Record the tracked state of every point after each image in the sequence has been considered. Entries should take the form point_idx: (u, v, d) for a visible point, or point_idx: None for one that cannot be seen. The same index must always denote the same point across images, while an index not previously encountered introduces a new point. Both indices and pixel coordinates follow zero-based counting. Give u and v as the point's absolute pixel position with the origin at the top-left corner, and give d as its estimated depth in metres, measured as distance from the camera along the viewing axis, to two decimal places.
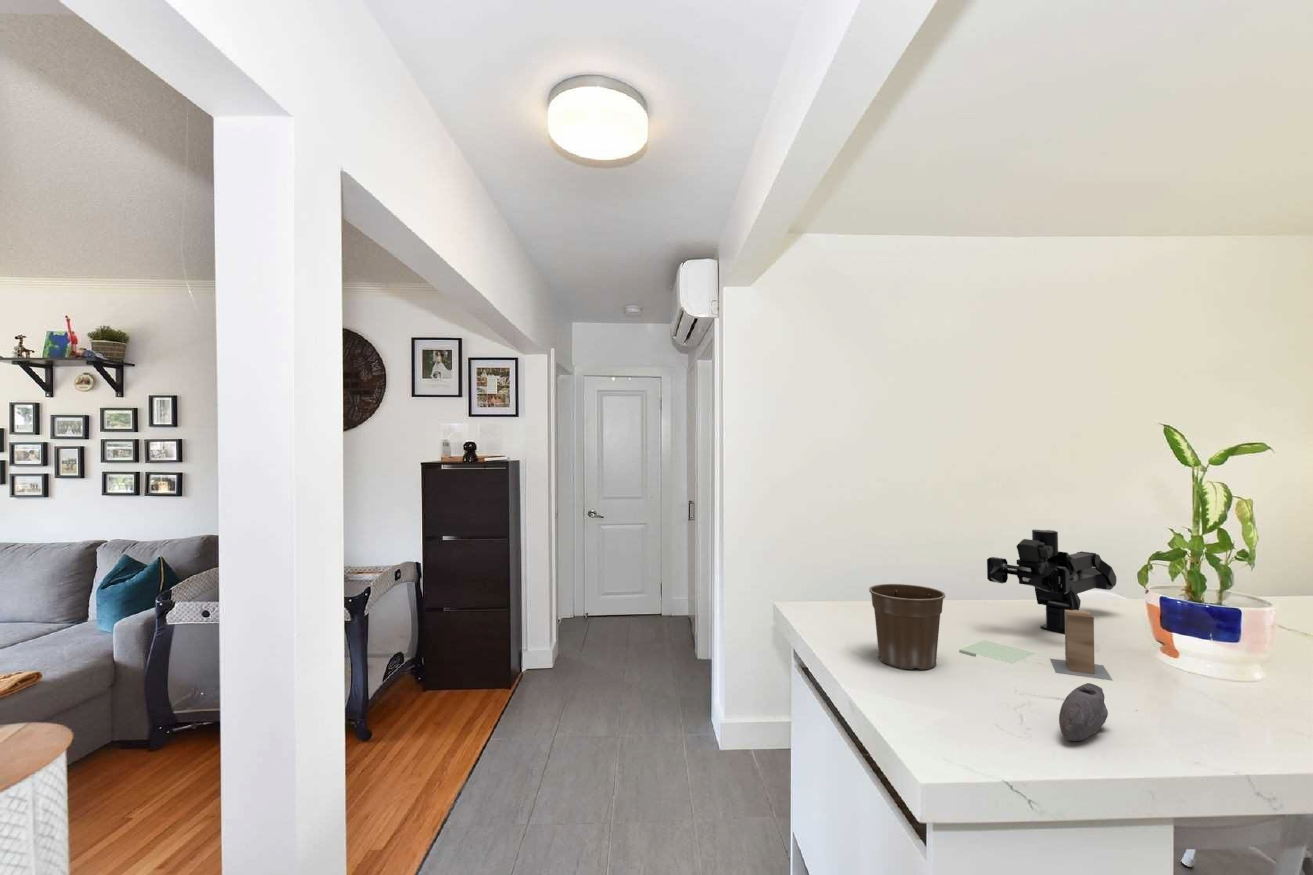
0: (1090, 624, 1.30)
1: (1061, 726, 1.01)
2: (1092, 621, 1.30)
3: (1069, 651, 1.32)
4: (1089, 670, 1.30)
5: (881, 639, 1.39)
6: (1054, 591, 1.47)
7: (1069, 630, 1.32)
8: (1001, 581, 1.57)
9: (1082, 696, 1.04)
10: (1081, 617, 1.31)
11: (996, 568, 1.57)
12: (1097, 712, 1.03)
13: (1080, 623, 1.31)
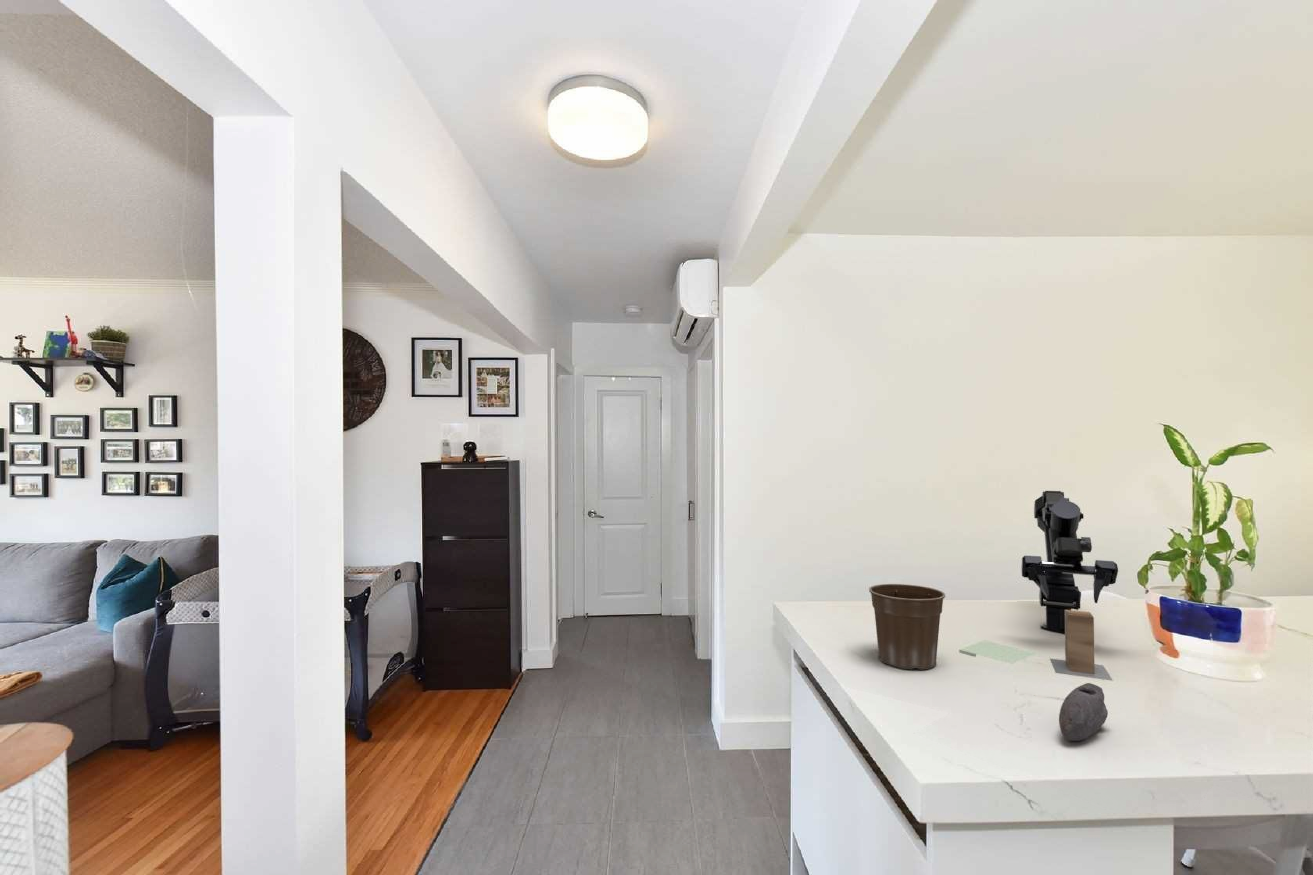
0: (1090, 624, 1.30)
1: (1061, 726, 1.01)
2: (1092, 621, 1.30)
3: (1069, 651, 1.32)
4: (1089, 670, 1.30)
5: (881, 639, 1.39)
6: (1104, 585, 1.43)
7: (1069, 630, 1.32)
8: None
9: (1081, 695, 1.04)
10: (1081, 617, 1.31)
11: (1043, 578, 1.45)
12: (1097, 712, 1.03)
13: (1080, 623, 1.31)
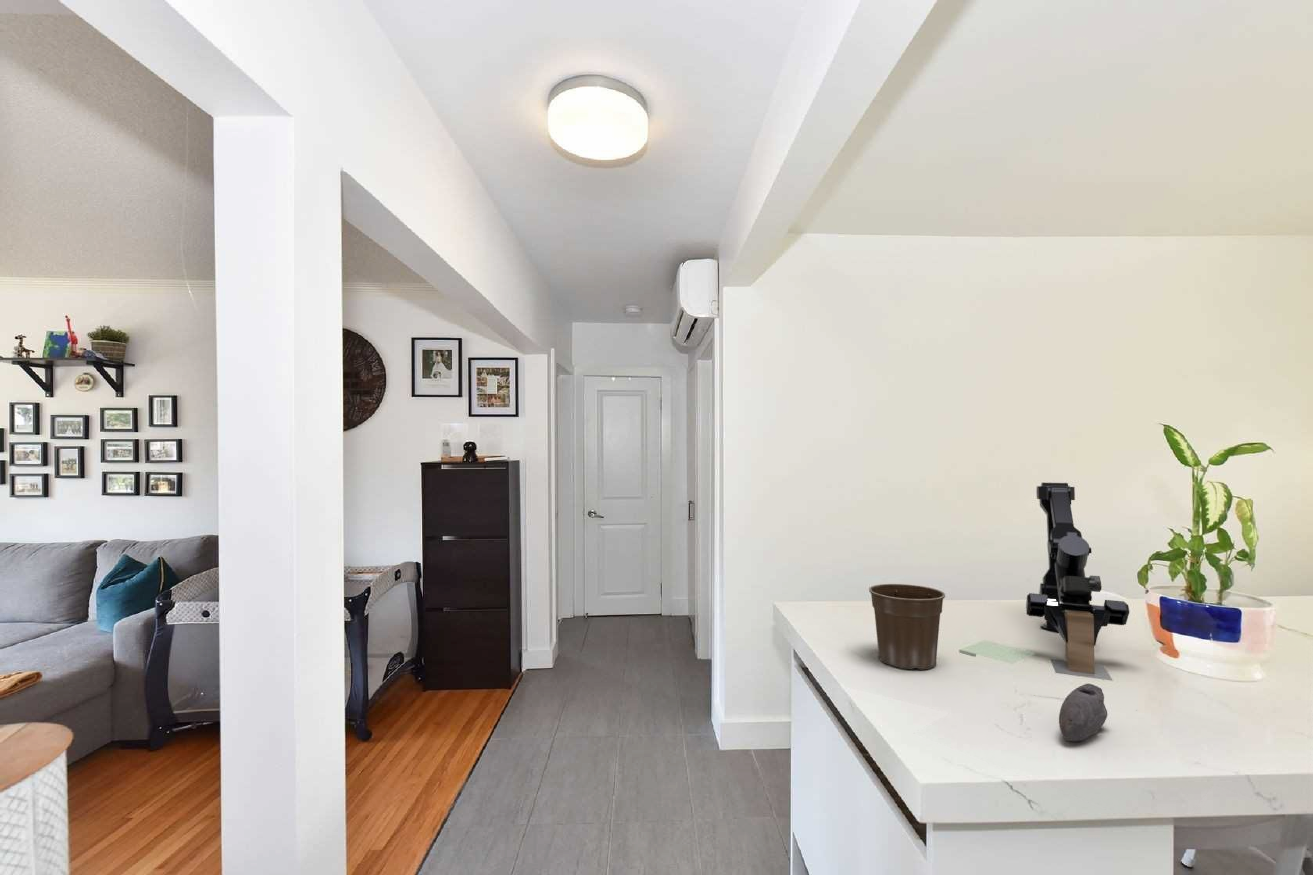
0: (1090, 624, 1.30)
1: (1061, 726, 1.01)
2: (1092, 621, 1.30)
3: (1069, 651, 1.32)
4: (1089, 670, 1.30)
5: (881, 639, 1.39)
6: (1102, 625, 1.35)
7: (1069, 630, 1.32)
8: None
9: (1081, 696, 1.04)
10: (1081, 617, 1.31)
11: (1060, 620, 1.35)
12: (1097, 713, 1.03)
13: (1080, 623, 1.31)
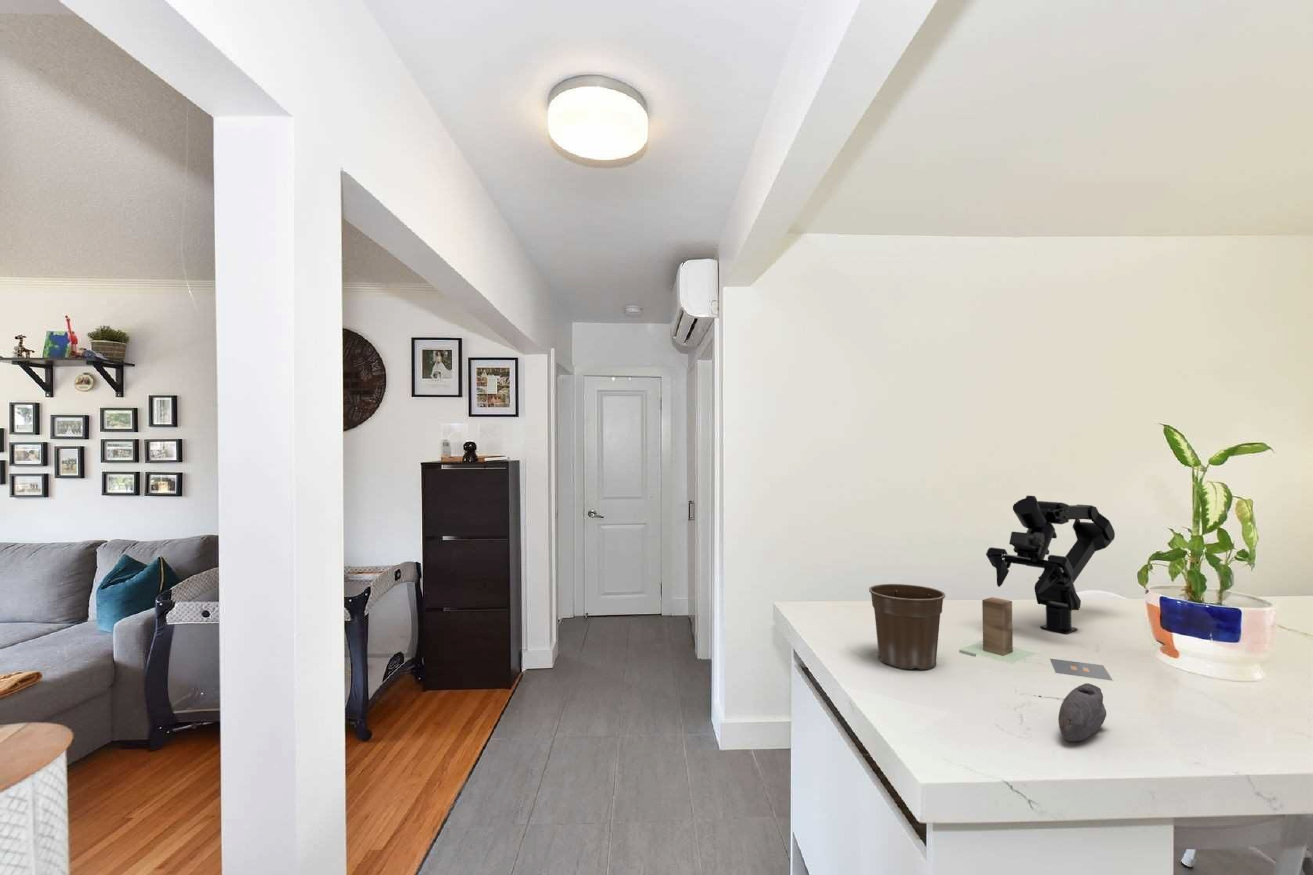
0: (999, 610, 1.42)
1: (1061, 726, 1.01)
2: (1001, 607, 1.42)
3: (983, 633, 1.45)
4: (999, 652, 1.42)
5: (881, 639, 1.39)
6: (1060, 579, 1.50)
7: (983, 614, 1.45)
8: (1007, 572, 1.60)
9: (1081, 696, 1.04)
10: (992, 603, 1.43)
11: (999, 568, 1.58)
12: (1096, 712, 1.03)
13: (991, 608, 1.44)
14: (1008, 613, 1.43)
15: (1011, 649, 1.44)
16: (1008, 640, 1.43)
